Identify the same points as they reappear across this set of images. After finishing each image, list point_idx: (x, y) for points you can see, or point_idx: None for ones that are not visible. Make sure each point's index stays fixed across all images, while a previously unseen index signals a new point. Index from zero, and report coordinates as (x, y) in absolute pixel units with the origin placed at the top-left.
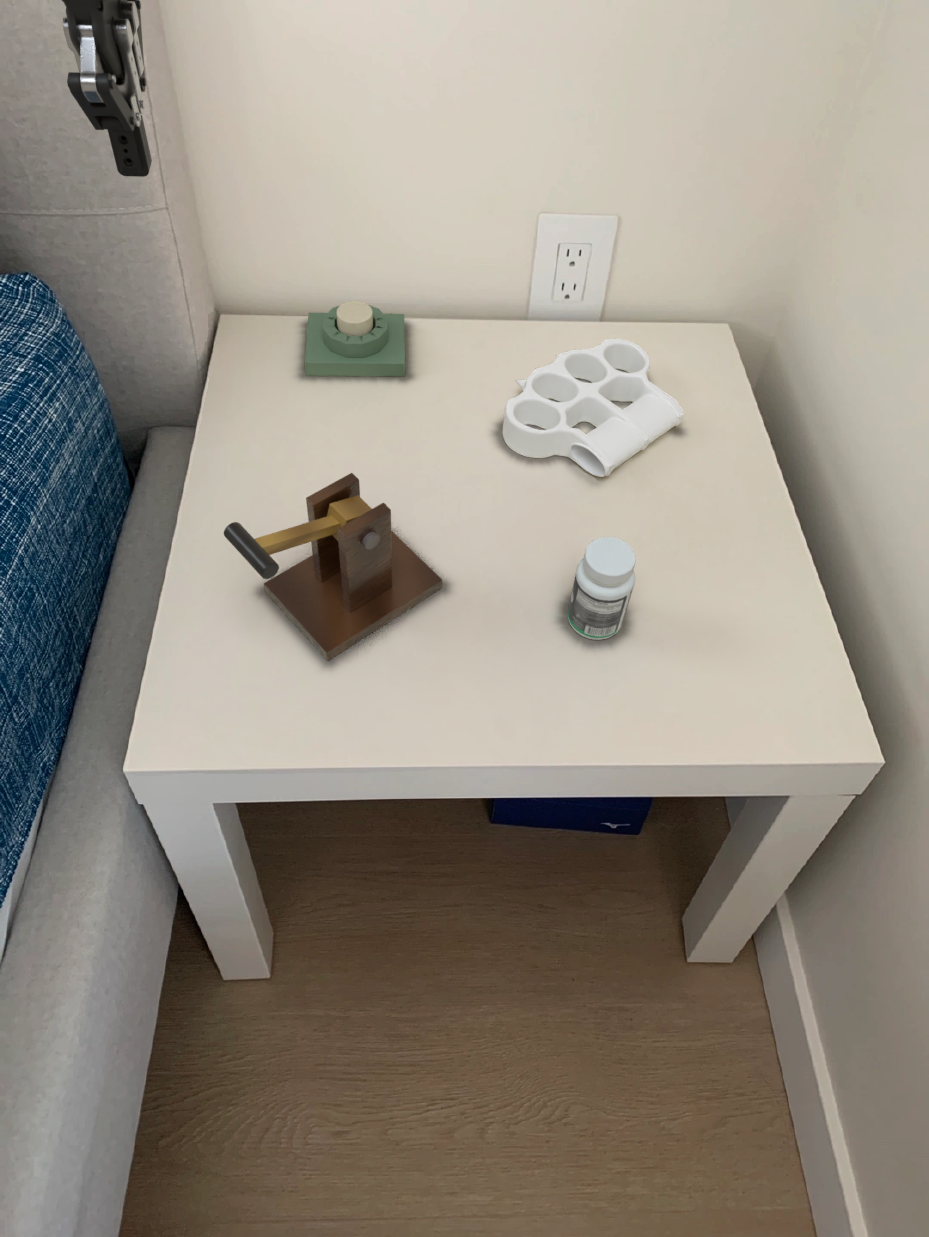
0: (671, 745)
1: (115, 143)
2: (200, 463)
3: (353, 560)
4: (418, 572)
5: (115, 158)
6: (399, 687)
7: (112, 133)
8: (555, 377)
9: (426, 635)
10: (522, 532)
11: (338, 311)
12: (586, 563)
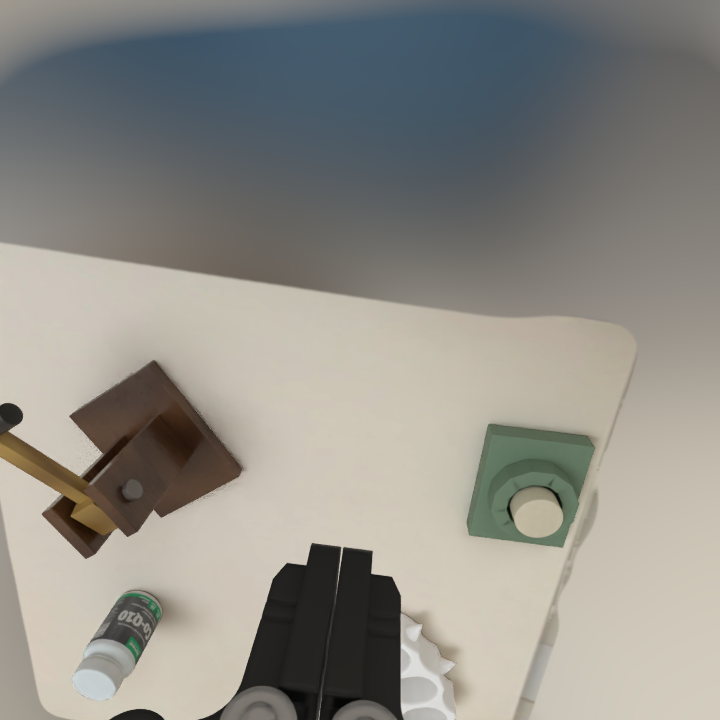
0: (32, 621)
1: (251, 652)
2: (346, 296)
3: None
4: (168, 501)
5: (304, 578)
6: (57, 462)
7: (244, 685)
8: (407, 663)
9: None
10: (234, 579)
11: (543, 502)
12: (87, 666)
